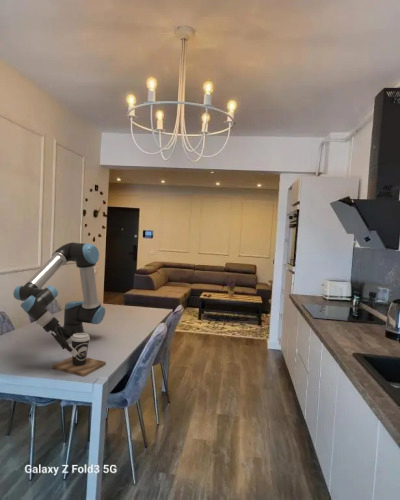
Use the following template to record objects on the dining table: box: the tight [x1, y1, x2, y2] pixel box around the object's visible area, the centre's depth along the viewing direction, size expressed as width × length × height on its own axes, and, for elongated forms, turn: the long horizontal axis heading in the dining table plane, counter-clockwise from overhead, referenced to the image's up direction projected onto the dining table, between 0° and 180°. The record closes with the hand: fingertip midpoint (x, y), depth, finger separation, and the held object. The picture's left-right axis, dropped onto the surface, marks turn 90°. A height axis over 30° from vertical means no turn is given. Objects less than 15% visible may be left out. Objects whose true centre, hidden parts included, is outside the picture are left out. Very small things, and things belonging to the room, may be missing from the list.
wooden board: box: [51, 356, 107, 377], centre depth 183 cm, size 20×18×2 cm
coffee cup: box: [71, 332, 91, 366], centre depth 183 cm, size 10×10×15 cm
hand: (77, 350), depth 182 cm, fingers open, 13 cm apart
